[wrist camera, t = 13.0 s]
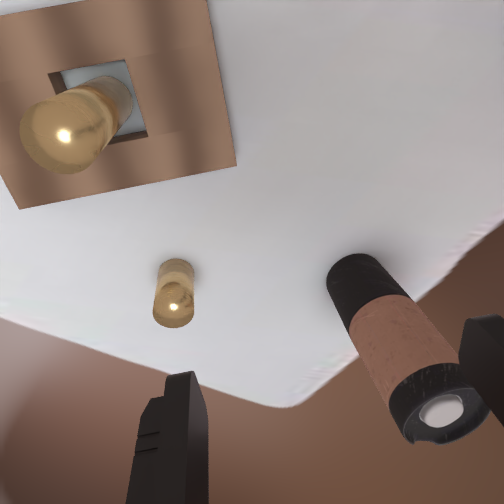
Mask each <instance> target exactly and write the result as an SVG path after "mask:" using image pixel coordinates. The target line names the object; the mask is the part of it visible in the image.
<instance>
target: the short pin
mask: <svg viewBox="0 0 504 504" xmlns="http://www.w3.org/2000/svg"><path fill="white" fill-rule="evenodd" d="M193 315H194V271H193V268H192V266H191V265H190V264H189V263H188V262H186V261H184V260H182V259H170V260H167V261H166V262H164V263H163V264H162V265H161V266H160V268H159V272H158V278H157V285H156V292H155V299H154V306H153V317H154V319H155V320H156V321H157V322H158V323H159V324H160V325H162V326H164V327H168V328H179V327H182V326H184V325H186V324H188V323H189V322H190V321H191V320H192V318H193Z"/></svg>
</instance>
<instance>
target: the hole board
mask: <svg viewBox="0 0 504 504" xmlns="http://www.w3.org/2000/svg"><path fill="white" fill-rule="evenodd" d="M122 59H125V61H126V64H127V68H128V71H129V74H130V77H131V81H132V84H133V87H134V91H135V94H136V97H137V101H138V104H139V107H140V110H141V114H142V117H143V120H144V124H145V127H146V130H147V131H142V132H136V133H131V134H126V135H121V136H116V137H112V139H111V140H110V141H109V143H108V144H107V145H106V146H105V148H104V149H103V150H102V151H101V153H100V154H99V155H98V156H97V158H96V159H95V160H94V161H93V163H92V164H91V165H90V166H89V167H88V168H87V169H85V170H83V171H81V172H79V173H75V174H59V173H55V172H52V171H49V170H47V169H45V168H43V167H42V166H40V165H39V164H37V163H36V162H35V161H34V160H33V159H32V158H31V157H30V156H29V154H28V153H27V152H26V150H25V148H24V146H23V144H22V142H21V138H20V122H21V119H22V116H23V115H24V113H25V112H26V110H27V109H29V108H30V107H31V106H33V105H34V104H36V103H39V102H41V101H43V100H46V99H48V98H50V97H53V96H55V95H57V94H60V93H62V92H64V91H67V89H66V86H65V83H64V81H63V78H62V76H61V73H60V71H64V70H69V69H74V68H80V67H85V66H90V65H96V64H101V63H106V62H112V61H117V60H122ZM234 166H237V164H236V158H235V153H234V147H233V142H232V137H231V131H230V126H229V120H228V115H227V109H226V104H225V99H224V93H223V88H222V82H221V77H220V72H219V66H218V61H217V55H216V50H215V45H214V39H213V34H212V28H211V23H210V18H209V12H208V7H207V1H206V0H84V1H79V2H73V3H68V4H62V5H57V6H51V7H46V8H40V9H35V10H29V11H24V12H18V13H12V14H7V15H1V16H0V175H1V177H2V179H3V181H4V182H5V184H6V186H7V188H8V190H9V192H10V193H11V195H12V197H13V199H14V201H15V203H16V205H17V206H18V208H19V210H20V209H25V208H30V207H35V206H40V205H45V204H50V203H55V202H60V201H65V200H70V199H75V198H80V197H85V196H90V195H95V194H100V193H105V192H110V191H115V190H120V189H125V188H130V187H135V186H140V185H145V184H150V183H155V182H160V181H165V180H170V179H175V178H179V177H184V176H189V175H194V174H199V173H204V172H209V171H214V170H219V169H224V168H229V167H234Z"/></svg>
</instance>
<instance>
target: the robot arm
mask: <svg viewBox="0 0 504 504" xmlns="http://www.w3.org/2000/svg"><path fill="white" fill-rule="evenodd" d="M458 359H459V364H460V367H461V370H462V372H463V374H464V375H465V377H466V378H467V379H468V381H469V382H470V383H471V385H472V386H473V387H474V389H475V390H476V391H477V392H478V394H479V395H480V396H481V398H482V399H483V400H484V402H485V403H486V404H487V406H488V407H489V408H490V410H491V411H492V412H493V413H494V415H495V416H496V417H497V419H498V420H499V421H500V423H501V424H502V425H503V427H504V319H503V318H502V317H501V316H499V315H497V314H490V315H485V316H479V317H474V318H469V319H467V320H466V321H465V324H464V329H463V334H462V339H461V344H460V349H459V355H458ZM137 436H138V439H137V441H136V447H135V456H134V458H133V464H132V470H131V475H130V482H129V487H128V493H127V499H126V504H209V492H208V491H209V490H208V489H209V485H208V484H209V481H208V480H209V476H208V415H207V409H206V405H205V401H204V398H203V395H202V393H201V390H200V387H199V384H198V381H197V378H196V375H195V373H194V371H188V372H183V373H178V374H173V375H168V376H167V378H166V382H165V391H164V396H162V397H157V398H152V399H151V400H150V401H149V403H148V405H147V406H146V408H145V410H144V412H143V414H142V415H141V418H140V424H139V429H138V435H137Z"/></svg>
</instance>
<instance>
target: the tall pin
mask: <svg viewBox="0 0 504 504" xmlns="http://www.w3.org/2000/svg"><path fill="white" fill-rule="evenodd" d="M132 107H133V102H132V97H131V94H130V92H129V90H128V89H127V87H126V86H125V85H124V84H123V83H122V82H120V81H119V80H117V79H115V78H113V77H109V76H100V77H97V78H95V79H92V80H90V81H88V82H85V83H83V84H81V85H78V86H76V87H74V88H71V89H69V90H67V91H64V92H62V93H60V94H57V95H55V96H53V97H50V98H48V99H46V100H43V101H41V102H39V103H36V104H34V105H33V106H31V107H30V108H29V109H27V110H26V112H25V113H24V115H23V116H22V119H21V122H20V138H21V142H22V144H23V146H24V148H25V150H26V152H27V153H28V154H29V156H30V157H31V158H32V159H33V160H34V161H35V162H36V163H37V164H39V165H40V166H42V167H43V168H45V169H47V170H49V171H52V172H55V173H59V174H75V173H79V172H81V171H83V170H85V169H87V168H88V167H89V166H90V165H91V164H92V163H93V161H94V160H95V159H96V158H97V156H98V155H99V154H100V153H101V151H102V150H103V149H104V148H105V146H106V145H107V144H108V143H109V141H110V140H111V139H112V137H113V136H114V135H115V134H116V132H117V131H118V130H119V129H120V127H121V126H122V125H123V124H124V122H125V121H126V120H127V119H128V117H129V116H130V114H131V112H132Z"/></svg>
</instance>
